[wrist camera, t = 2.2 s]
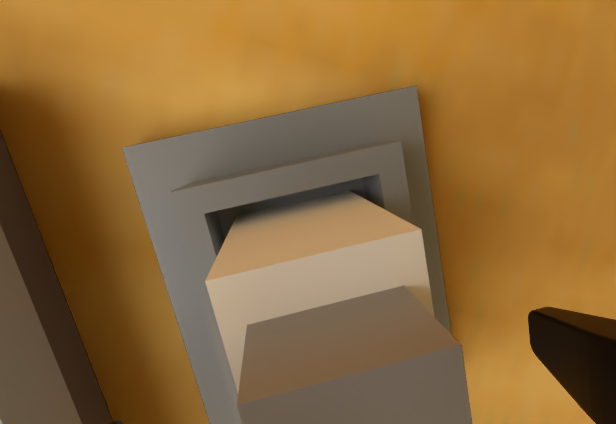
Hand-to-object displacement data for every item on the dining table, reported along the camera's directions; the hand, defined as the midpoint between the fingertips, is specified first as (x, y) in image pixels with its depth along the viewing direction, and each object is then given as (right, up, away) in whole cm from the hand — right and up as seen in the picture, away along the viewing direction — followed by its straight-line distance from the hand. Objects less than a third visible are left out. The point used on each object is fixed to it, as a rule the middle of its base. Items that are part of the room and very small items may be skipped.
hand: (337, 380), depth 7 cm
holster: (-1, +1, +6) cm, 6 cm away
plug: (0, +1, +5) cm, 5 cm away
